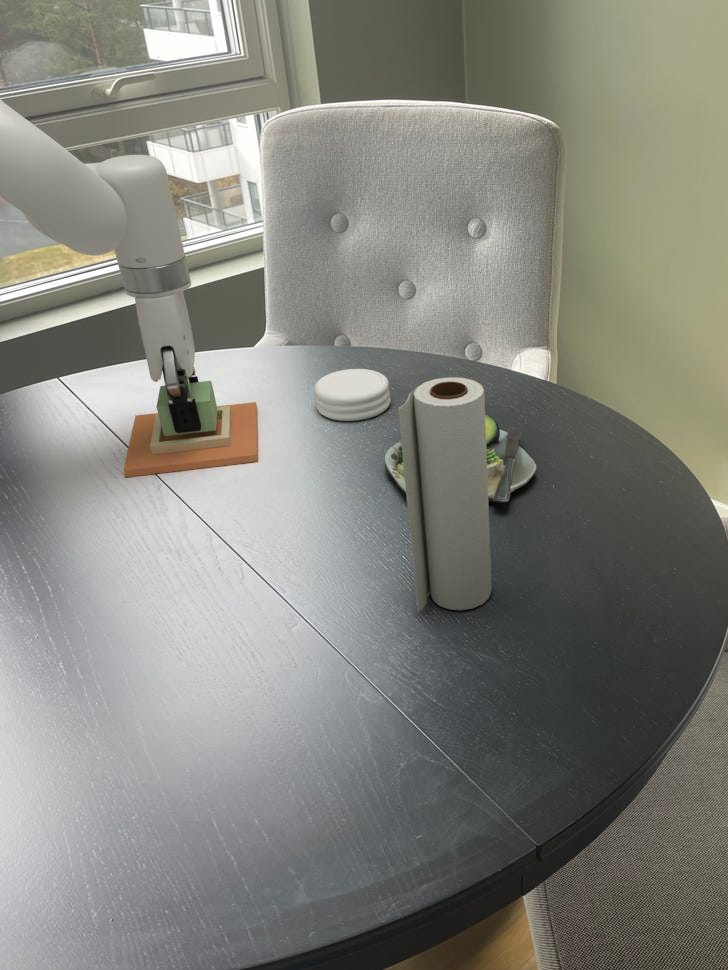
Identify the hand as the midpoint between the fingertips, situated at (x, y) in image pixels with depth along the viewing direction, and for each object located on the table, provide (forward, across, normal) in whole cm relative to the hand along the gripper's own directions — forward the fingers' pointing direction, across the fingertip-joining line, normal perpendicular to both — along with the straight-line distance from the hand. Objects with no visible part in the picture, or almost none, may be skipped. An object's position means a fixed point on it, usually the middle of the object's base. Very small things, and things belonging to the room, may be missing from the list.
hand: (189, 417), depth 123 cm
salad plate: (+3, +17, +32) cm, 36 cm away
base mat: (+3, 0, 0) cm, 3 cm away
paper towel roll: (+3, +42, +27) cm, 50 cm away
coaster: (+3, -5, +21) cm, 22 cm away
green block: (+1, 0, 0) cm, 1 cm away
